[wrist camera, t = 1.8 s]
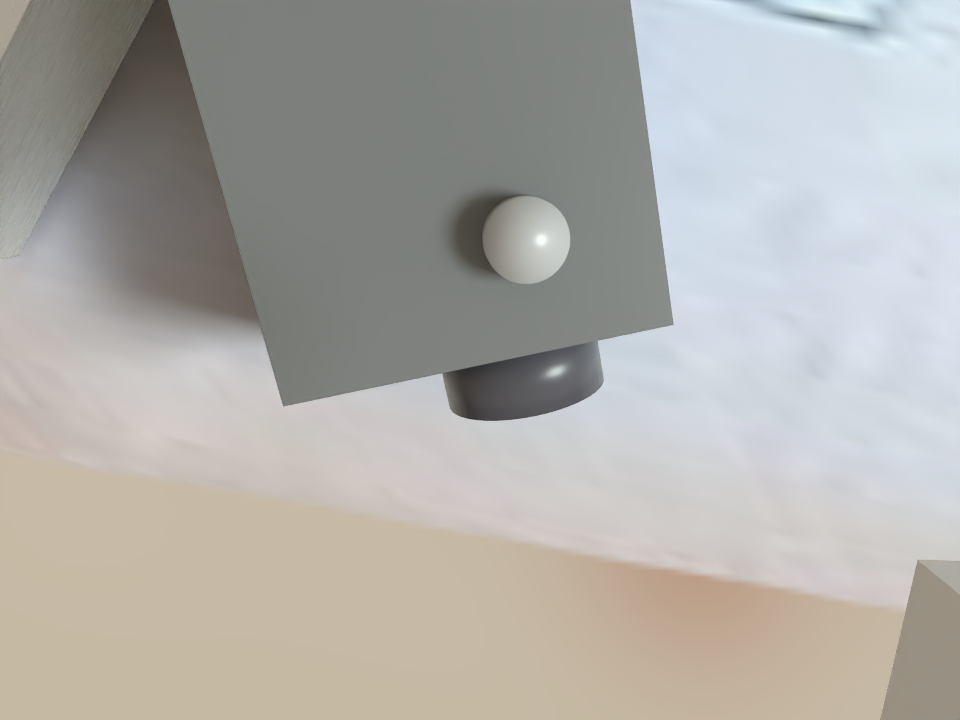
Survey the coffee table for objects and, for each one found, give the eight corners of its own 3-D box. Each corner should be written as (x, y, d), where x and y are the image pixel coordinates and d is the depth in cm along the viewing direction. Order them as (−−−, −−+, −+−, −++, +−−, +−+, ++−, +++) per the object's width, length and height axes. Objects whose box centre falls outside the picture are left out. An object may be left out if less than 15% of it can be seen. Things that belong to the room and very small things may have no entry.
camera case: (196, -119, 27) (68, -268, 18) (534, -187, 27) (592, -373, 18) (331, 392, 32) (290, 494, 23) (615, 333, 32) (693, 408, 23)
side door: (163, -103, 27) (65, -198, 20) (202, -76, 27) (119, -159, 20) (-14, 237, 29) (-159, 264, 22) (23, 258, 30) (-108, 292, 22)
